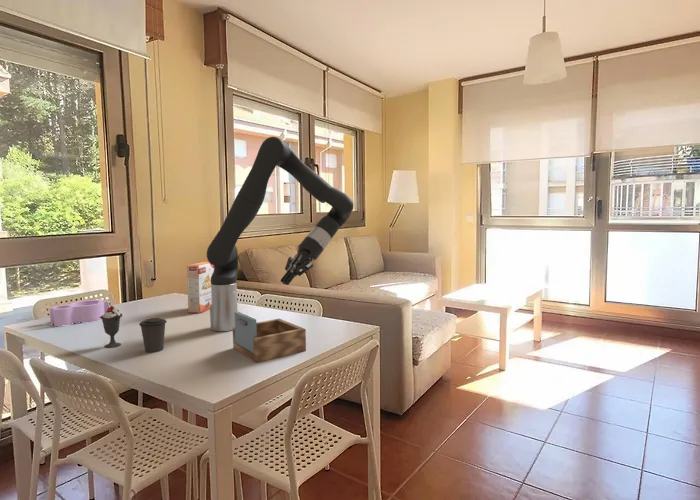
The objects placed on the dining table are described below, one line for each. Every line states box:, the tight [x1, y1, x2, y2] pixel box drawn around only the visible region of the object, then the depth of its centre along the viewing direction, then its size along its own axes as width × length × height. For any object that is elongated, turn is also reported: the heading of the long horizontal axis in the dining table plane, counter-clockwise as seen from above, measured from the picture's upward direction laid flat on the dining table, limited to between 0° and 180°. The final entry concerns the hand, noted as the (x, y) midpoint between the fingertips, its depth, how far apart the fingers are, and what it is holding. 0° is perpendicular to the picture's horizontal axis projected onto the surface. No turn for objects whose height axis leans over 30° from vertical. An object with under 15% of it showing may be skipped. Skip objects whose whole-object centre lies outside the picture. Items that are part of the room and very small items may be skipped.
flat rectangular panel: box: [234, 311, 257, 353], centre depth 135 cm, size 2×13×10 cm, turn 38°
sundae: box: [99, 302, 123, 349], centre depth 145 cm, size 7×7×15 cm
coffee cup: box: [138, 317, 167, 354], centre depth 140 cm, size 8×8×10 cm
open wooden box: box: [232, 318, 307, 363], centre depth 140 cm, size 17×17×7 cm
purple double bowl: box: [49, 298, 111, 327], centre depth 178 cm, size 20×12×7 cm, turn 142°
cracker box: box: [186, 261, 214, 314], centre depth 195 cm, size 14×6×21 cm, turn 168°
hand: (283, 283), depth 142 cm, fingers closed
